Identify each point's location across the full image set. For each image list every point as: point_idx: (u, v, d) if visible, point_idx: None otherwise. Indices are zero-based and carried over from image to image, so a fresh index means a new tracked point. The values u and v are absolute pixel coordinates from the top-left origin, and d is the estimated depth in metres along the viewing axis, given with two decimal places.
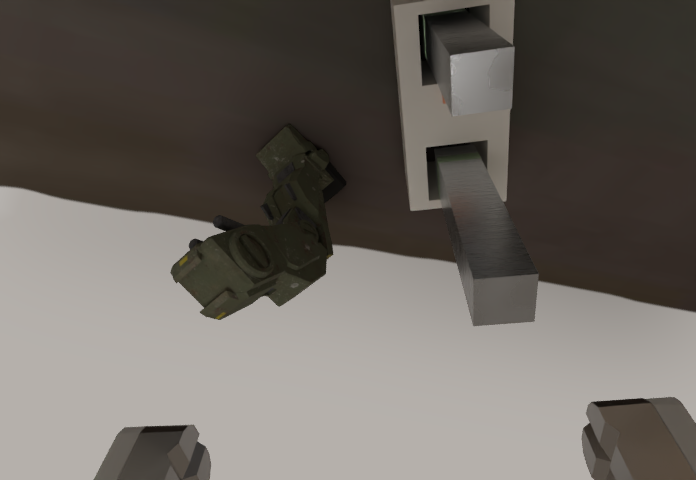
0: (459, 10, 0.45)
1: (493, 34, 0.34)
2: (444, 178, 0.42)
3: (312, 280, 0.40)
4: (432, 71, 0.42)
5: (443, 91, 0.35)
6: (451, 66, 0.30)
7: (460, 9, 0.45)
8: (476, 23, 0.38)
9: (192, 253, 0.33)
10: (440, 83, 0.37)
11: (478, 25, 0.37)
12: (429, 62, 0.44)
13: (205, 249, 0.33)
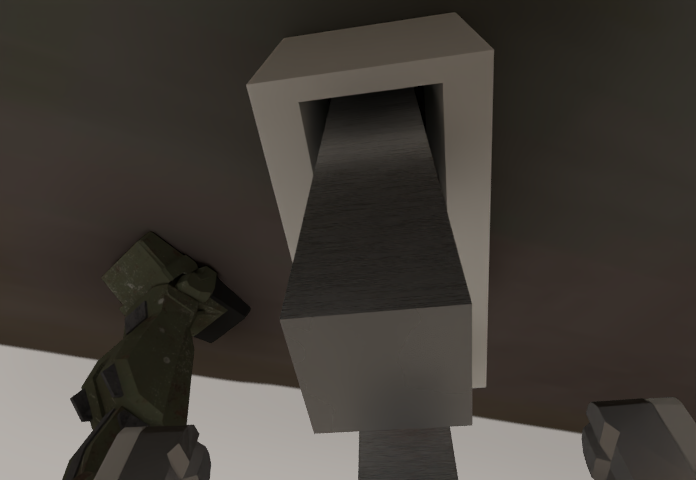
0: None
1: (431, 195, 0.13)
2: None
3: None
4: None
5: None
6: (289, 341, 0.10)
7: None
8: (411, 129, 0.18)
9: None
10: None
11: (412, 139, 0.17)
12: None
13: None
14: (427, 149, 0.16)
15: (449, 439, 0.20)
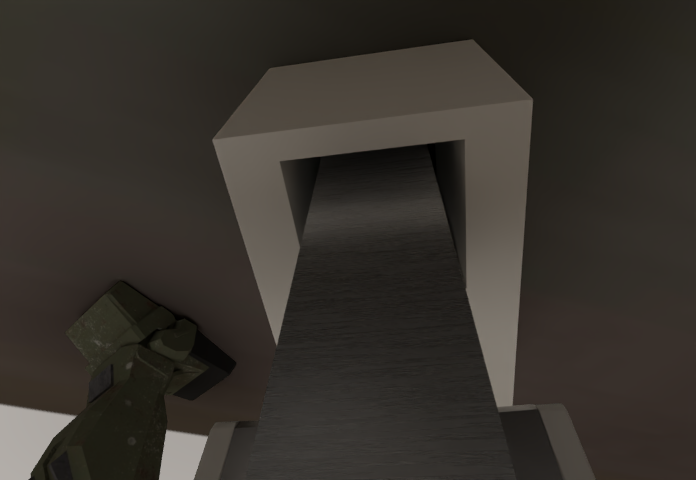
0: None
1: (461, 335, 0.09)
2: None
3: None
4: None
5: None
6: None
7: None
8: (425, 203, 0.14)
9: None
10: None
11: (427, 221, 0.13)
12: None
13: None
14: (449, 241, 0.12)
15: None
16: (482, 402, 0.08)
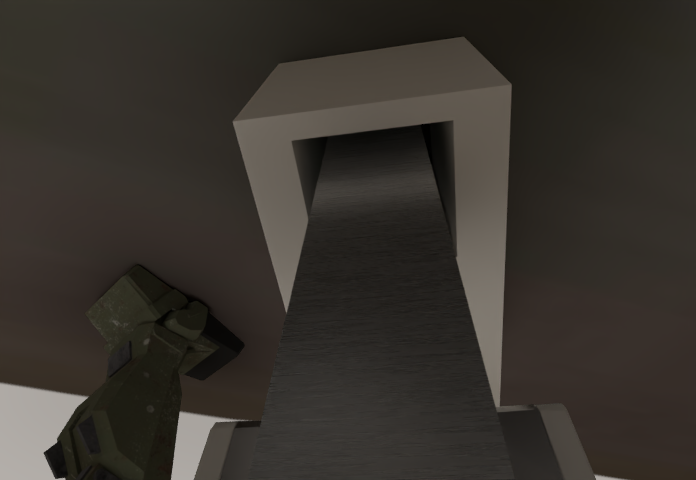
0: None
1: (460, 332, 0.09)
2: None
3: None
4: None
5: None
6: None
7: None
8: (424, 204, 0.14)
9: None
10: None
11: (426, 222, 0.13)
12: None
13: None
14: (448, 242, 0.12)
15: None
16: (479, 397, 0.08)
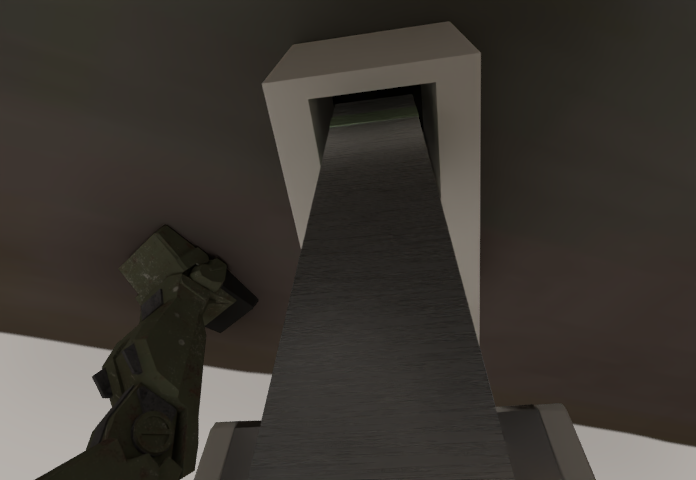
0: (405, 117, 0.21)
1: (459, 331, 0.09)
2: None
3: None
4: None
5: None
6: None
7: (408, 113, 0.21)
8: (424, 204, 0.14)
9: None
10: None
11: (426, 222, 0.13)
12: None
13: None
14: (447, 241, 0.12)
15: None
16: (479, 395, 0.08)
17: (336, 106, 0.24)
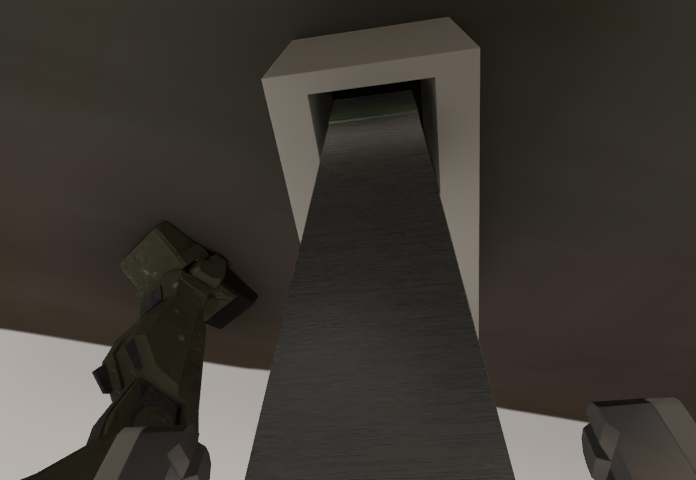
0: (404, 113, 0.21)
1: (458, 324, 0.09)
2: None
3: None
4: None
5: None
6: None
7: (407, 108, 0.21)
8: (423, 199, 0.14)
9: None
10: None
11: (425, 216, 0.13)
12: None
13: None
14: (446, 235, 0.12)
15: None
16: (478, 388, 0.08)
17: (335, 102, 0.24)
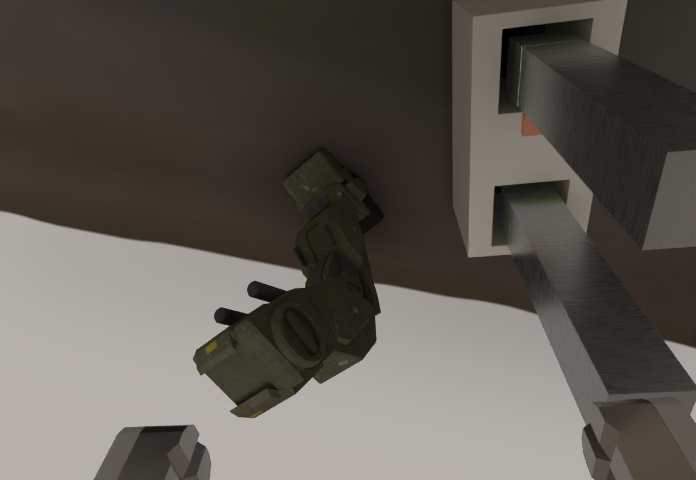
0: (575, 40, 0.31)
1: None
2: (524, 229, 0.34)
3: (364, 355, 0.32)
4: (544, 134, 0.28)
5: (598, 187, 0.21)
6: (663, 170, 0.16)
7: (575, 38, 0.31)
8: (635, 69, 0.24)
9: (223, 339, 0.25)
10: (583, 168, 0.23)
11: (644, 74, 0.23)
12: (533, 116, 0.30)
13: (241, 334, 0.25)
14: (665, 79, 0.22)
15: (589, 239, 0.32)
16: None
17: (511, 38, 0.34)
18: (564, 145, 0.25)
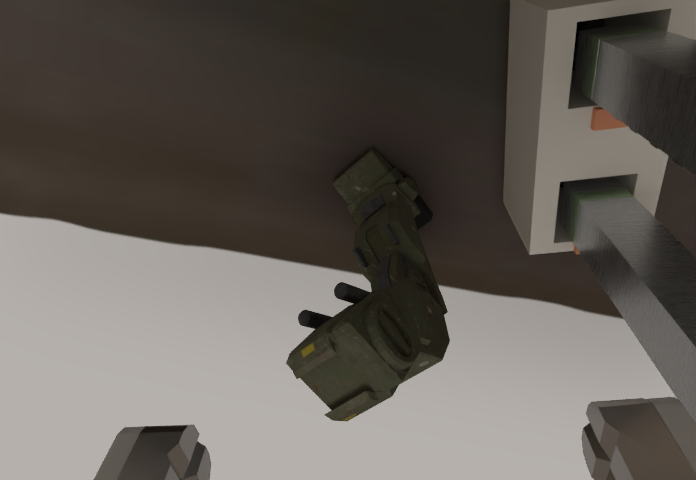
0: (655, 31, 0.30)
1: None
2: (599, 224, 0.34)
3: (442, 355, 0.32)
4: (633, 126, 0.28)
5: None
6: None
7: (653, 29, 0.31)
8: None
9: (321, 342, 0.25)
10: (694, 159, 0.22)
11: None
12: (615, 109, 0.30)
13: (339, 337, 0.24)
14: None
15: (670, 233, 0.32)
16: None
17: (583, 31, 0.33)
18: (664, 137, 0.25)
